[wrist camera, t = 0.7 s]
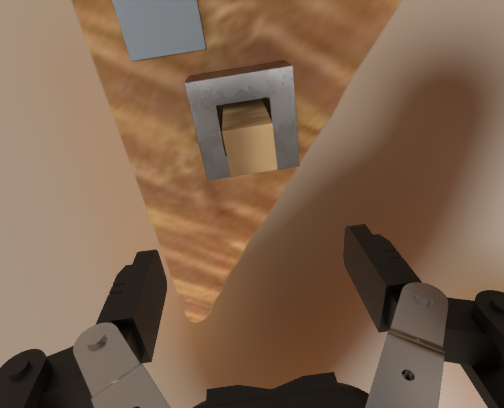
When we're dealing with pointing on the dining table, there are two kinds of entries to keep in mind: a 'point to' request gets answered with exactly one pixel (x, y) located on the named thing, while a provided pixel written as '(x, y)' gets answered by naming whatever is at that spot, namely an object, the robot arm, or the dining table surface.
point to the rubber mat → (159, 27)
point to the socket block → (236, 90)
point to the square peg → (248, 138)
